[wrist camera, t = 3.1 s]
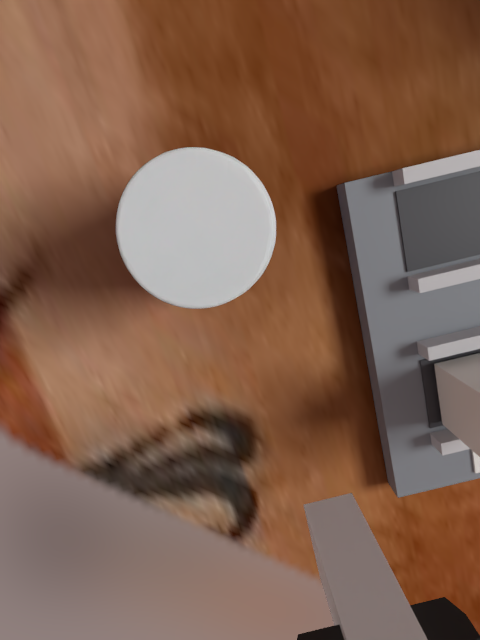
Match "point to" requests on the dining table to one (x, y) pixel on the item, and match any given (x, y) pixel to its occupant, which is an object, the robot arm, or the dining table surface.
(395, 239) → the console
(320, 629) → the robot arm
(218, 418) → the dining table surface
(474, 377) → the fader cap
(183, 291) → the pill bottle
